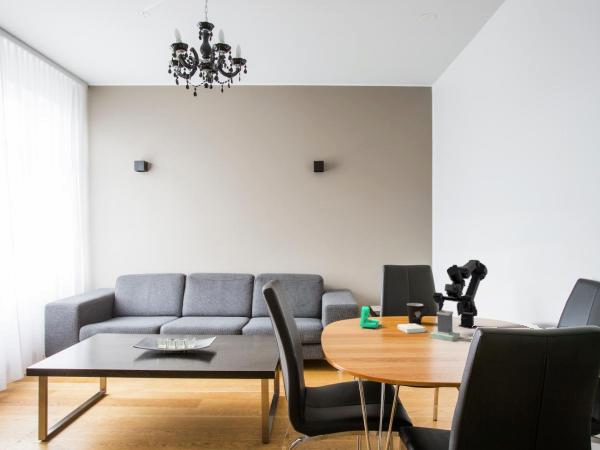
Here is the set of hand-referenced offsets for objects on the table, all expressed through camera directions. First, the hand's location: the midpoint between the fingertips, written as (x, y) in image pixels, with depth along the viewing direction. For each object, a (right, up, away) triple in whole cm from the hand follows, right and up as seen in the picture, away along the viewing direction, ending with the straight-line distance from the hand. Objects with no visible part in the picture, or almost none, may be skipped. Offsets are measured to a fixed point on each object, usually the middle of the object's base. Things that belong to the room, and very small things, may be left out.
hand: (448, 313), depth 187 cm
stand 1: (-15, -11, +10) cm, 21 cm away
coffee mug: (-7, -11, +26) cm, 29 cm away
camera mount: (-34, -11, +19) cm, 41 cm away
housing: (-3, -8, -3) cm, 9 cm away
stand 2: (-3, -10, -3) cm, 11 cm away
